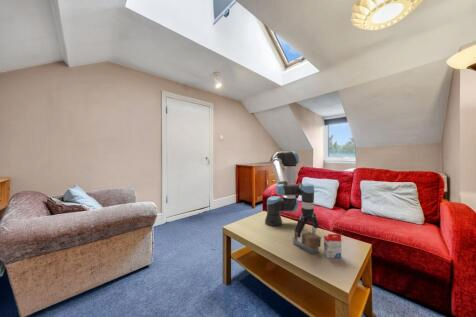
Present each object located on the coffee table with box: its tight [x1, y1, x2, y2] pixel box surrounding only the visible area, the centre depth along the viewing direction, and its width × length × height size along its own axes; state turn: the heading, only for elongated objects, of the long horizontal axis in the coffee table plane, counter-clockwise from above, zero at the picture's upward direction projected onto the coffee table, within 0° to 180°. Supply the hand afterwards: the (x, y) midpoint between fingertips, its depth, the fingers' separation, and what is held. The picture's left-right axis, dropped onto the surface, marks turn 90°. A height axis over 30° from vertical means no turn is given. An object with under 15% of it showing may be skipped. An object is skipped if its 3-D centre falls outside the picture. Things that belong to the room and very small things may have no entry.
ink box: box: [323, 233, 342, 259], centre depth 111 cm, size 8×5×15 cm, turn 92°
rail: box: [292, 236, 320, 256], centre depth 120 cm, size 16×6×8 cm, turn 30°
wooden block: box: [294, 228, 322, 249], centre depth 119 cm, size 15×7×6 cm, turn 30°
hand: (307, 239), depth 119 cm, fingers open, 13 cm apart
